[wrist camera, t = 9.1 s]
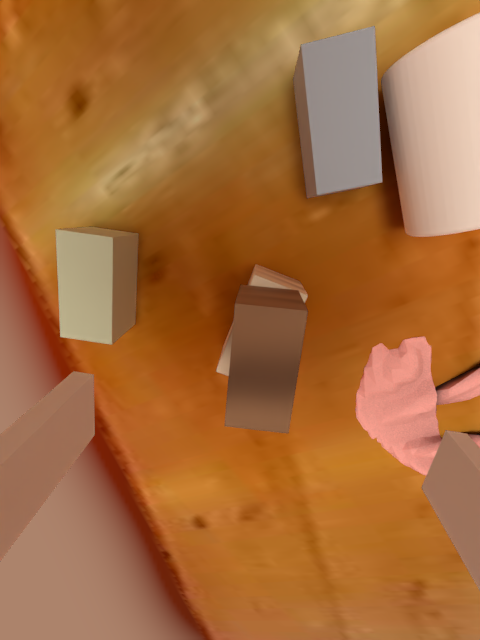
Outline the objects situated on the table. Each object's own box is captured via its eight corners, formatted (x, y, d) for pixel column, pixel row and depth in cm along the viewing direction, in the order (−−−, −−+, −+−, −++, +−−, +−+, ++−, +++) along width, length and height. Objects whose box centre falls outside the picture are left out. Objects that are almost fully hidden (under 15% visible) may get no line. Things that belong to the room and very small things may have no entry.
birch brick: (255, 263, 27) (254, 274, 22) (300, 281, 27) (308, 295, 22) (223, 346, 29) (215, 371, 25) (264, 361, 30) (264, 389, 25)
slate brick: (292, 79, 23) (301, 44, 18) (350, 65, 22) (374, 25, 18) (306, 198, 25) (317, 195, 20) (359, 188, 25) (382, 182, 20)
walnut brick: (240, 284, 22) (235, 303, 18) (298, 290, 22) (308, 310, 18) (231, 385, 25) (224, 426, 20) (283, 391, 25) (288, 433, 20)
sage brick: (91, 226, 27) (55, 229, 22) (139, 233, 27) (112, 237, 22) (92, 317, 29) (60, 336, 25) (135, 323, 29) (111, 344, 25)
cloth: (339, 330, 29) (346, 340, 27) (613, 288, 26) (647, 295, 24) (359, 505, 35) (365, 526, 33) (583, 485, 32) (607, 506, 30)
